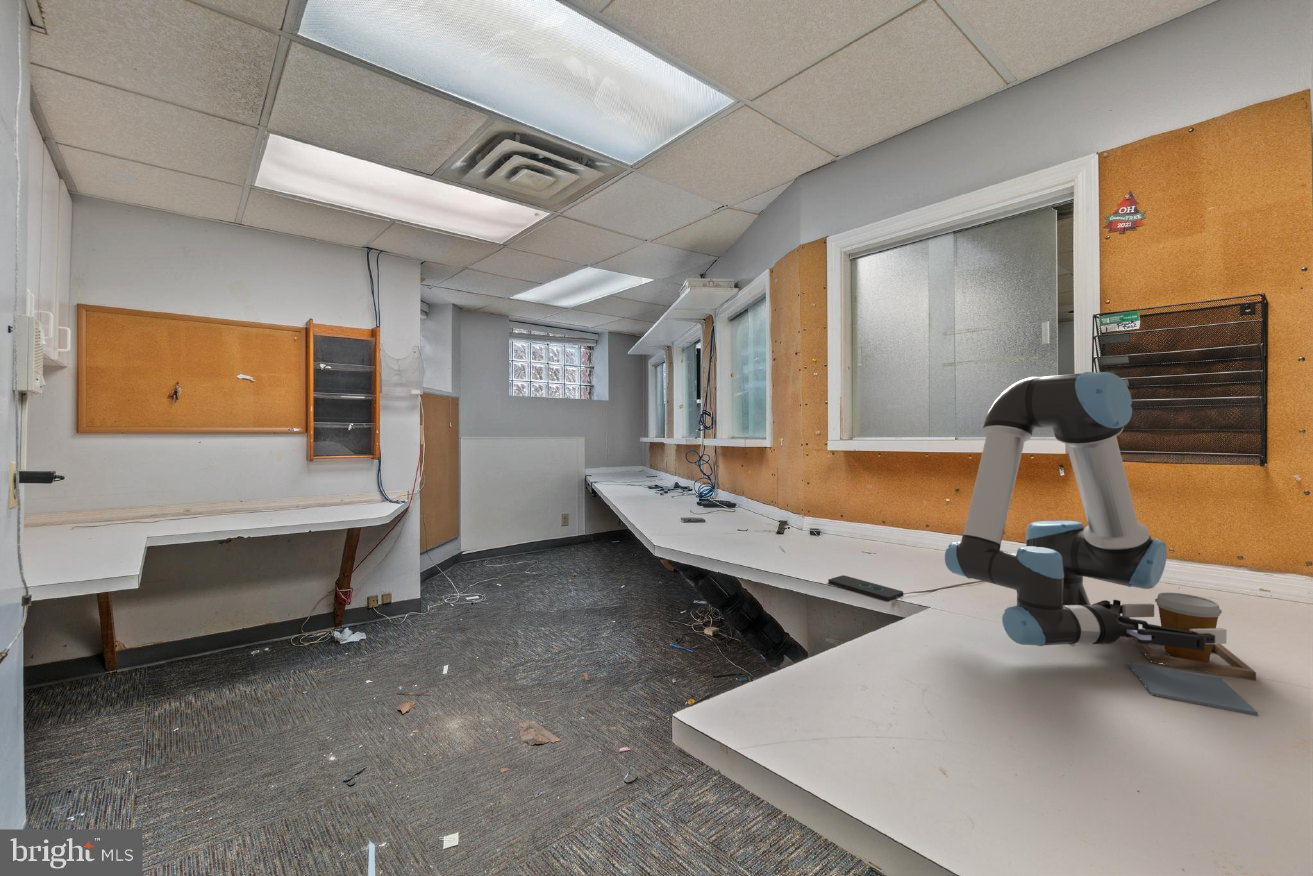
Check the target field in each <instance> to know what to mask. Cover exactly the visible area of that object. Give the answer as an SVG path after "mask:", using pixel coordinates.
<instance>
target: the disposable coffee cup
mask: <svg viewBox="0 0 1313 876" xmlns="http://www.w3.org/2000/svg"><path fill="white" fill-rule="evenodd" d="M1154 602H1155V603H1156V606H1158V613H1159V621H1160V626H1163V627H1169V628H1175V629H1181V630H1187V631H1190V629H1209V628H1217V625H1218V619H1219V617H1220V615H1221V614H1222V613H1223V611H1222V609H1220V605H1219V603H1217V602H1216V601H1214V600H1211V599H1209V598H1205V597H1202V596H1197V595H1192V594H1187V593H1186V594H1185V593H1179V592H1159V593H1158V595H1157V597H1156V598H1155V599H1154ZM1212 645H1213V644H1205V651H1203V650H1202V651H1201V650H1194V649H1187V648H1180V647H1172V646H1164V645H1163V646H1164V652H1165V654H1166V655H1168V654H1169V655H1168V656H1170V657H1176V658H1182V659H1189V660H1195V661H1201V662H1208V663H1210V659H1211V655H1212V651H1211V650H1212Z"/></svg>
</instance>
